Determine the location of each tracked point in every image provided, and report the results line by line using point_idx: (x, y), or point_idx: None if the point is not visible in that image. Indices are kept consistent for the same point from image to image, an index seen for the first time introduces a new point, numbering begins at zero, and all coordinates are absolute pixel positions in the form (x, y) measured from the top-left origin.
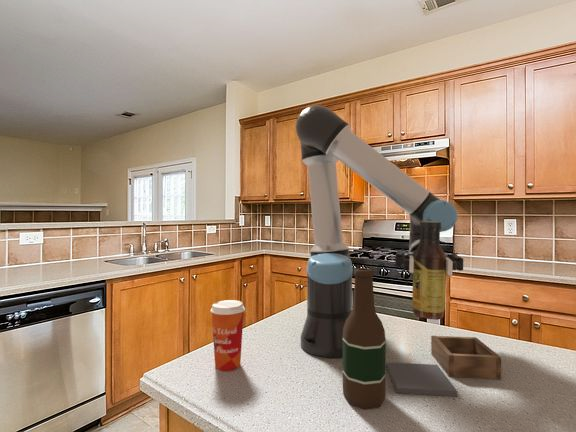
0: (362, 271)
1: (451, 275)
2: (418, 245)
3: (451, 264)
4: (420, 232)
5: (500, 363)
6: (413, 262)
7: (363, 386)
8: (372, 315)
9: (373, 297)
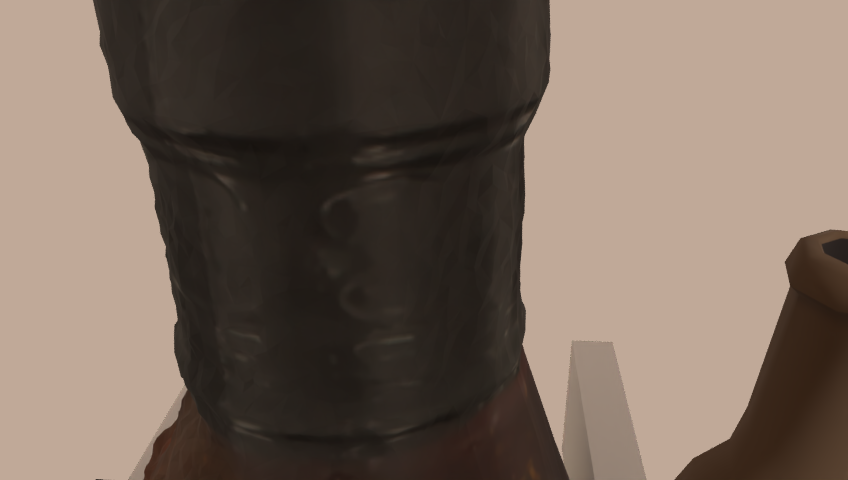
0: (839, 231)
1: None
2: (542, 414)
3: None
4: (523, 183)
5: None
6: (570, 369)
7: None
8: (731, 439)
9: (761, 398)
